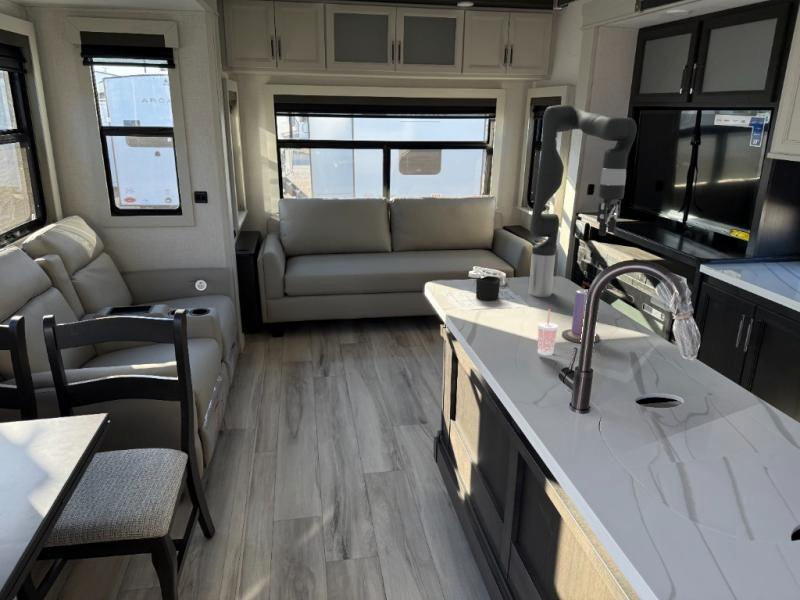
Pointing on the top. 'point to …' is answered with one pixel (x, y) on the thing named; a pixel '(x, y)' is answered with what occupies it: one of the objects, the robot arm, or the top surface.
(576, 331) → the beverage can
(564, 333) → the coaster
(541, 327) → the beverage cup
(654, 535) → the top surface
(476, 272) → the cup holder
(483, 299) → the pen holder
